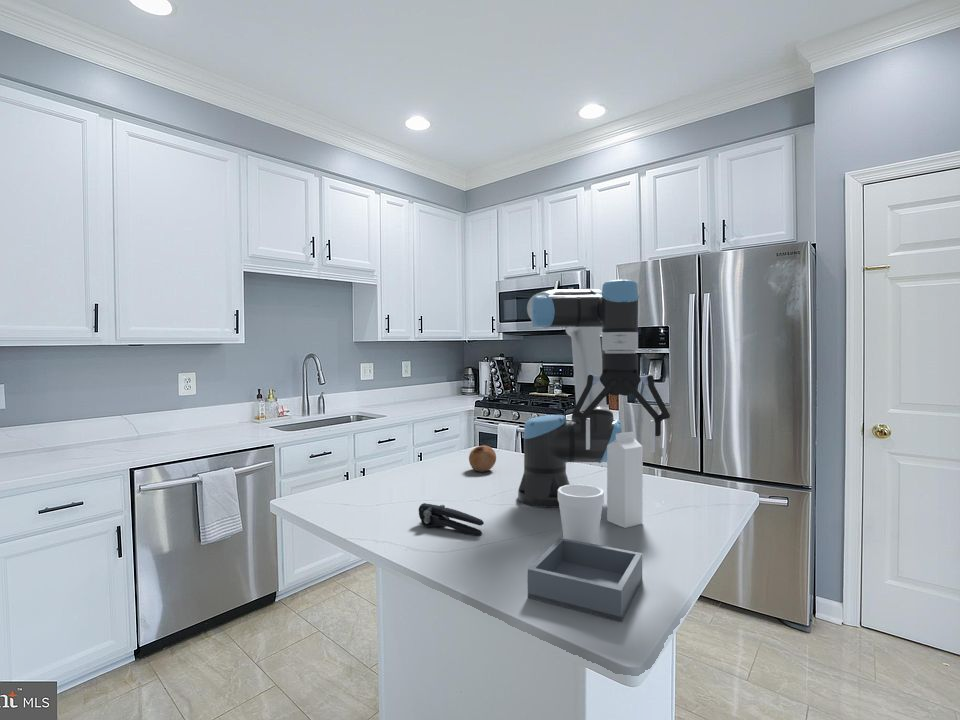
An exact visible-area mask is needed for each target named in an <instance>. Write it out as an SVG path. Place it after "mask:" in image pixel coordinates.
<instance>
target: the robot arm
mask: <svg viewBox="0 0 960 720" xmlns="http://www.w3.org/2000/svg"><path fill="white" fill-rule="evenodd" d="M638 287H639V286H638V283H637V282H636V281H635V280H631V279H616V280H607V281H605V282H604V283H603V284H602V289H601V290H600V289H597V288H595V289H594V288H585V289H584V288H583V289H582V288H579V289H574V288H570V289H568V288H567V289H566V288H565V289H564V288H563V289H557V288H556V289H555V288H554V289H548V290H544V291H541V292H538V293H537V292H536V294H534V295H532V296H531V297H530V298H529V300H528V301H527V304H526V312H527V315H528V317H529V319H530V320H531V325H532V326H533V327H535V328H544V329H545V328H547V329H548V328H565V333H566V334H567V335H568V336H569V337H570V338H571V351H572V364H573V365H572V367H573V376H574V377H573V378H574V393H575V394H574V395H575V407H574V408H573V410H572V413H571V420H568V419H567V418H566V415H564V414H547V415H541V416H540V415H539V416H536V417H532V418H529V419H528V420H526V422H525V423H524V430H523V435H522V436H523V437H522V438H523V441H524V442H523V444H524V445H523V446H524V447H523V448H524V449H523V450H524V451H523V452H524V453H523V456H524V457H523V461H524V462H523V468H524V469H523V474H522V477H521V479H520V480H521V481H520V484H519V487H518V489H517V490H518V491H517V499H518V501H519V502H520V503H522V504H523V505H524V504H525V505H528V506H531V507H538V508H557V507H558V508H560V507H559V502H558V489H559V487H562V486H565V485H571V484H570V481H569V478H568V475H567V463H598V464H601V463H607V445H608V444H610V443H611V442H613V441H615V440H616V434H618V433H623V432H622V428H623V427H622V425H621V421H620V420H619V419H614V412H613V411H612V410H610V409H609V408H608V406H607V405H608V404H607V396H608V395H609V394H610V395H611V396H619V395H620V396H626V397H627V396H629V395H631V394H632V395H633V397H635V399H636V400H637V401H638V402H639V403H640V404H641V406H643V407H644V409H645V410H646V411H647V413H648V414H649V415H650V416H651V417H652V419H651V420H650V452H651V453H656V437H660V436H661V433H662V432H661V428H662V425H661V423H662V421H664V420H668V419H670V417H671V415H670V412H669V411H668V409H667V407H666V404H665V402H664V401H663V400H662V397H661V396H660V393H659V392H658V390H657V388H656V386H655V378H654V376H653V374H647V375H639V354H637V353H636V351H637V352H638V350H639V329H638V328H639V300H640V296H639V295H640V294H639V288H638ZM601 344H602V345H601ZM602 351H603V352H604V353H602ZM641 382H642V383H643V384H644V385H645V386H647V387H648V389H649V391H650V393H651V395H652V398H654V401H655V403H656V404H657V406H658V408H659V411H660V412H661V413H658V412H657V411H656V410H655V409H654V408H653V407H652V406H651V404H650V403H649V402H648V401H647V400H646V399H645V398H644V397H643V395H642V394H641V392H639V390H638V389H637V386H638V385H639V384H640V383H641Z"/></svg>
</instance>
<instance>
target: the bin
mask: <svg viewBox="0 0 960 720" xmlns="http://www.w3.org/2000/svg"><path fill="white" fill-rule="evenodd" d="M642 581H643V553H642V552H636V551H633V550H632V551H631V550H626V549H622V548H618V547H617V548H616V547H611V546H605V545H601V544H597V545H596V544H591V543H585V542H580V541H575V540H569V539H564V537H563V538H562V537H559V538H558V539H557V540H556V541H555V542H554V543H553V544H552V545H551V546H550V547H549V548H548V549H547V550H546V551H545V552H544V553H543V554H541V555H540V556H539V558H538V559H536V560H535V561H534V562H533V563H532V564H531V565H530V566H529V567H528V568H527V598H528V599H531V600H536V601H539V602H543V603H546V604H547V603H548V604H551V605H556V606H558V607H561V608H566V609H570V610H572V611H573V610H574V611H578V612H582V613H585V614H588V615H589V614H590V615H593V616H597V617H600V618H604V619H605V618H606V619H609V620H612V621H616V622H621V623H622V621H623V619H624V617H625V615H626V613H627V611H628V610H629V607H630V605H631V603H632V601H633V600H634V597H635V596H636V593H638V590H639V588H640V586H641V583H642Z"/></svg>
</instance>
